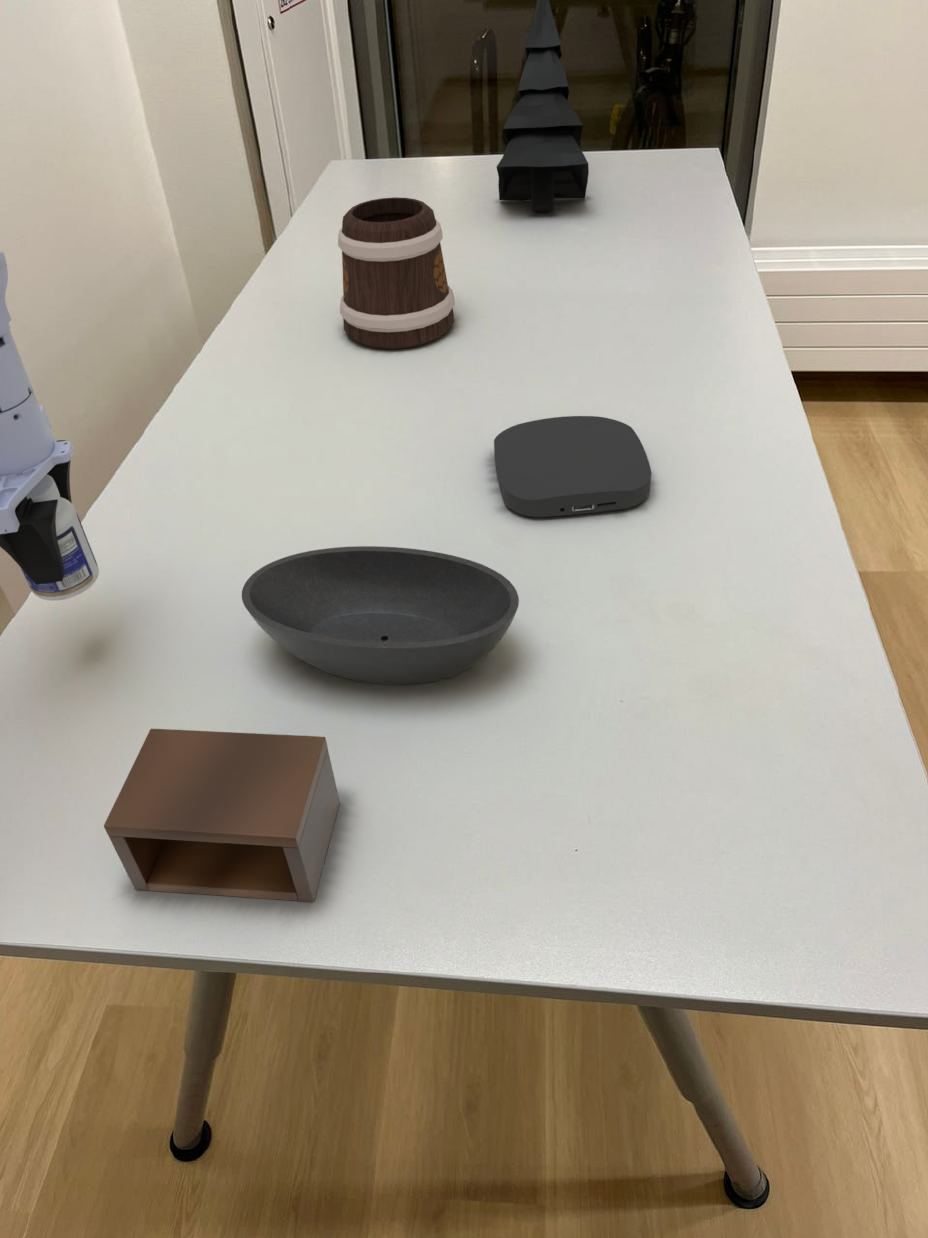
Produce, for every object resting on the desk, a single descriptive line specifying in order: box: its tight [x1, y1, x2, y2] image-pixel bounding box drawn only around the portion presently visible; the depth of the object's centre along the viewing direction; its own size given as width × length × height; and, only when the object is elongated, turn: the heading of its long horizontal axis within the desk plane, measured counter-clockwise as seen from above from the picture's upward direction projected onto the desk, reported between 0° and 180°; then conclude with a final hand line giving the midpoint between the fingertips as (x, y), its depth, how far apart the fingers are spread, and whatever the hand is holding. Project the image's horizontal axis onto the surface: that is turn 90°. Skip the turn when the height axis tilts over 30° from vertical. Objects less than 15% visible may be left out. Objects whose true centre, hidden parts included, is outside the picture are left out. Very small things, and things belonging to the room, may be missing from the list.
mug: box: [337, 196, 456, 350], centre depth 123 cm, size 20×15×15 cm
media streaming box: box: [493, 415, 652, 518], centre depth 95 cm, size 15×15×3 cm
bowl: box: [241, 545, 520, 685], centre depth 76 cm, size 12×22×6 cm, turn 79°
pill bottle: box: [20, 474, 100, 601], centre depth 72 cm, size 5×5×9 cm
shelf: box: [103, 728, 341, 903], centre depth 62 cm, size 12×8×7 cm, turn 84°
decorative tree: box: [496, 0, 590, 214], centre depth 153 cm, size 15×15×35 cm
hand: (55, 557), depth 74 cm, fingers closed on pill bottle, 5 cm apart
